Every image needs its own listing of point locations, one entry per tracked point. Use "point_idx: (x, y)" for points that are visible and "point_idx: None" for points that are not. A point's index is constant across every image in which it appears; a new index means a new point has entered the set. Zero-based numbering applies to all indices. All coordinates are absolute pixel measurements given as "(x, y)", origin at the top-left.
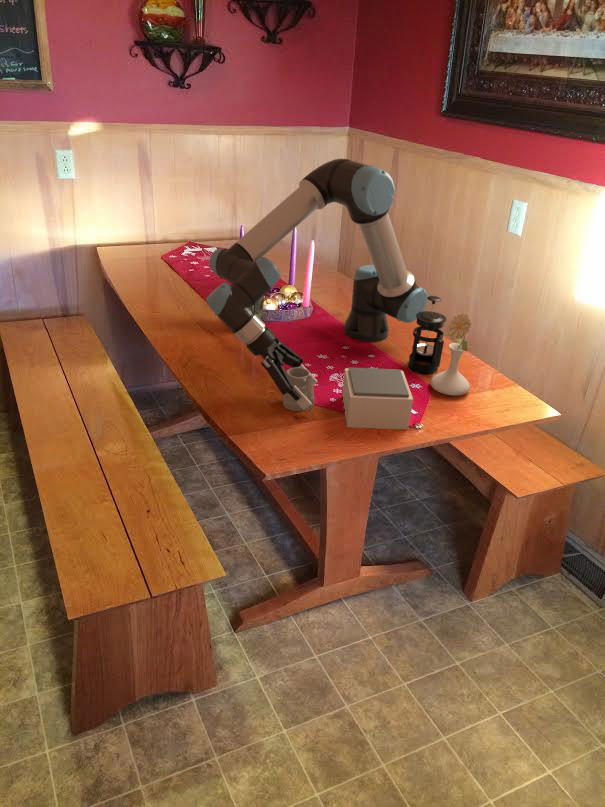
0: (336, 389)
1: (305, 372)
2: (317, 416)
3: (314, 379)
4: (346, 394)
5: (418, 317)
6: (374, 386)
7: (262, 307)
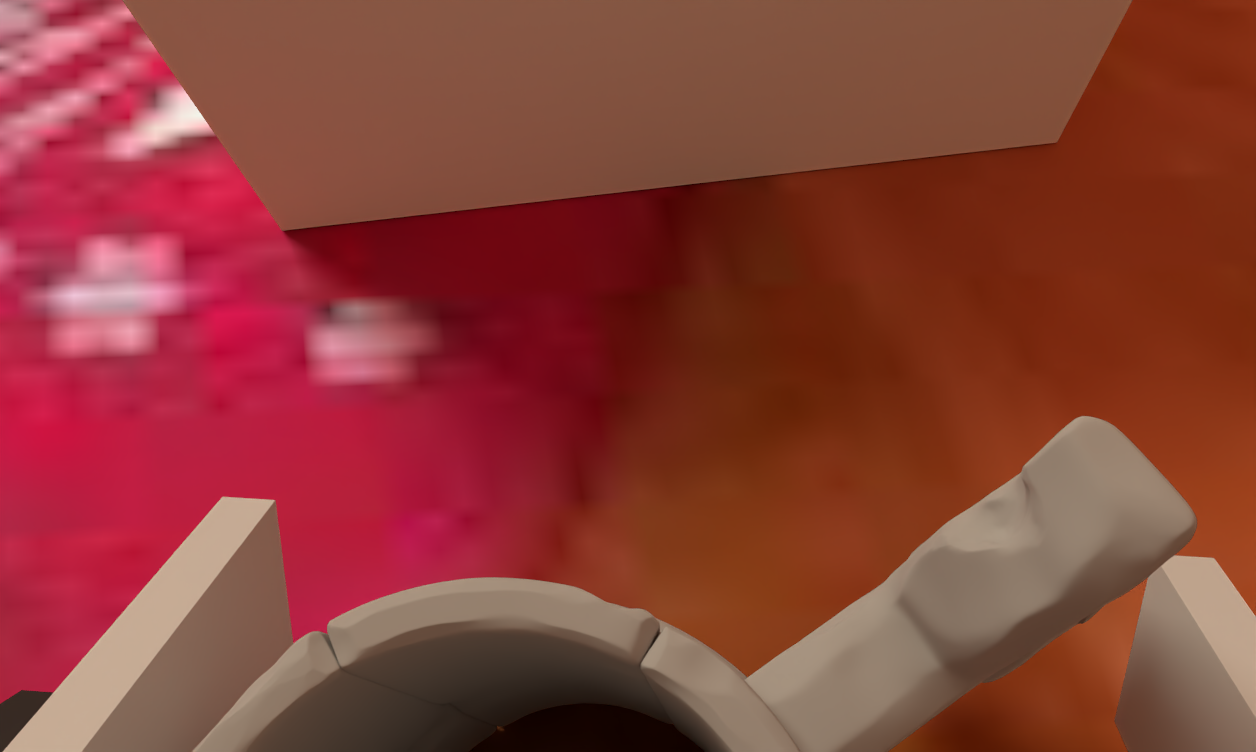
0: (73, 307)
1: (305, 732)
2: (880, 524)
3: (242, 544)
4: (675, 7)
5: None
6: None
7: None
